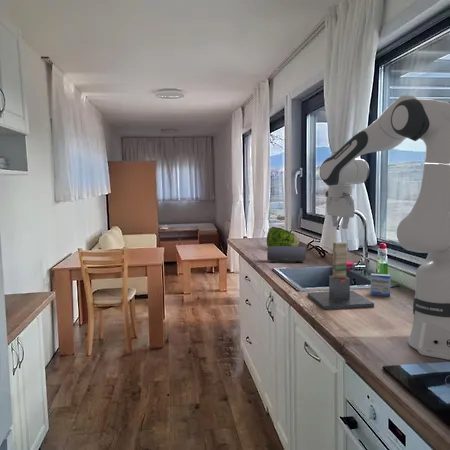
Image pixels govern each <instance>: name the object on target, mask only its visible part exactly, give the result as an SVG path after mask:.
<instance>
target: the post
mask: <svg viewBox="0 0 450 450" xmlns="http://www.w3.org/2000/svg"><path fill="white" fill-rule="evenodd" d="M347 246H348V245H347V242H344V241H333V242H332V276H333V277H334V278H336V279H339V278H346V277H347V255H348V254H347V252H348V251H347V250H348V248H347Z"/></svg>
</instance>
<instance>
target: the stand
mask: <svg viewBox="0 0 450 450" xmlns="http://www.w3.org/2000/svg"><path fill="white" fill-rule="evenodd" d="M328 278H329V280H328V281H329V282H328V289H329V290H328V291H318V292H317V291H314V292H313V291H312V292H307V297H308V298H310V300H312V301H313V302H314V303H315V304H316V305H318V307H320V308H321V309H322V310H324V311H326V310H327V311H328V310H346V309H363V308H365V309H366V308H375V303H374V302H373V301H372V300H369V299H368V298H366V297H365V296H363V295H361V294H359V293H357V292H356V291H354V290H351V278H350V277H348V276H346V278H339V279H336V278H334V277H333V275H329V277H328Z"/></svg>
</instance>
